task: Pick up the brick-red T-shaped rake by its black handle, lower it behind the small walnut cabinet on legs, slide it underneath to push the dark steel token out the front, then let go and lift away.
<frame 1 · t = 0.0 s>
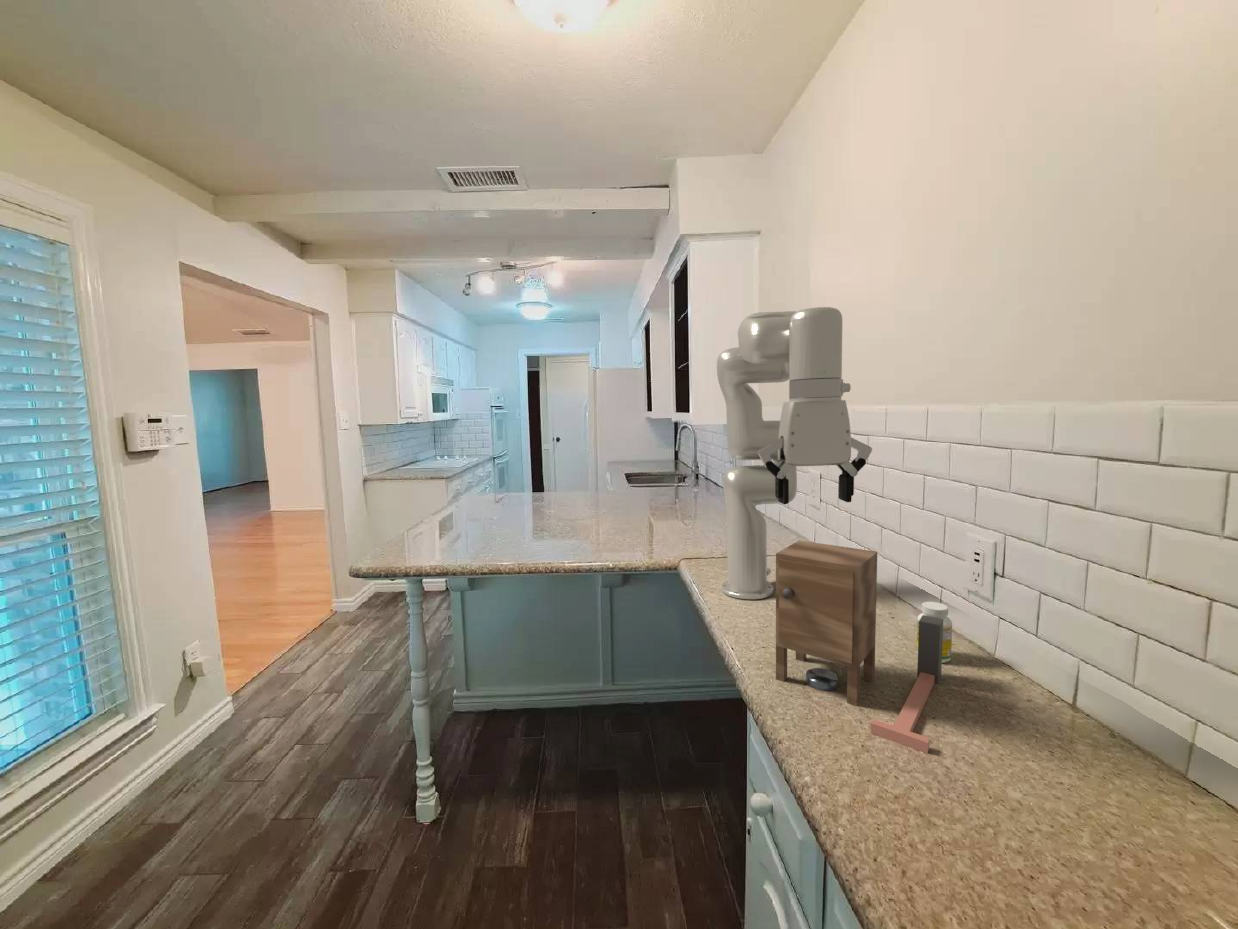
hand: (813, 501, 80), 31 cm above the table, tool pointing down, fingers open, 9 cm apart
walnut cabinet: (824, 678, 87), on the table
supplement bottle: (933, 657, 93), on the table
steel token: (821, 684, 86), on the table
rake: (929, 677, 86), on the table
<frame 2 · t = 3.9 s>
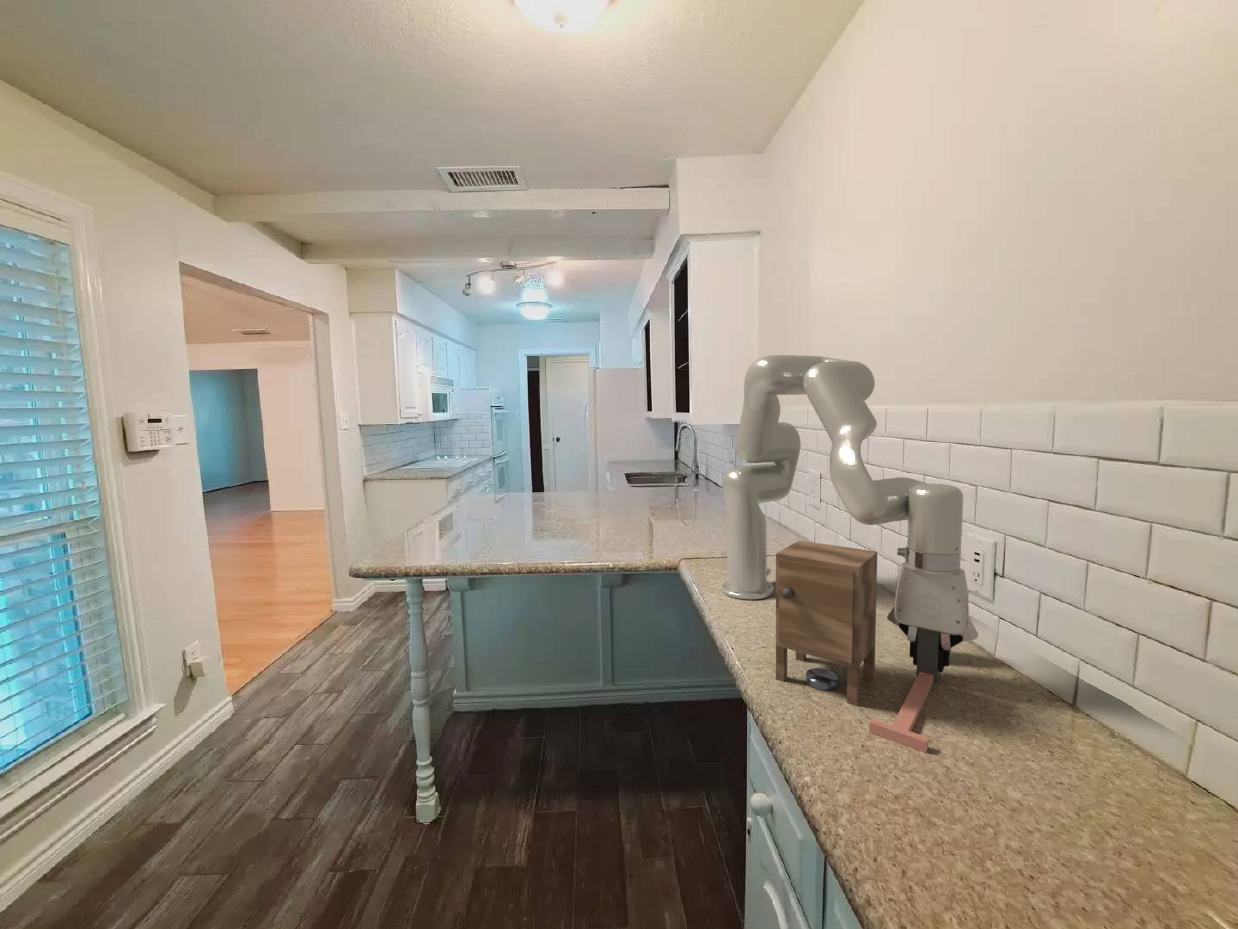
hand: (929, 664, 86), 2 cm above the table, tool pointing down, fingers closed on rake, 3 cm apart
rake: (928, 676, 87), on the table, touching gripper
everything else where it was.
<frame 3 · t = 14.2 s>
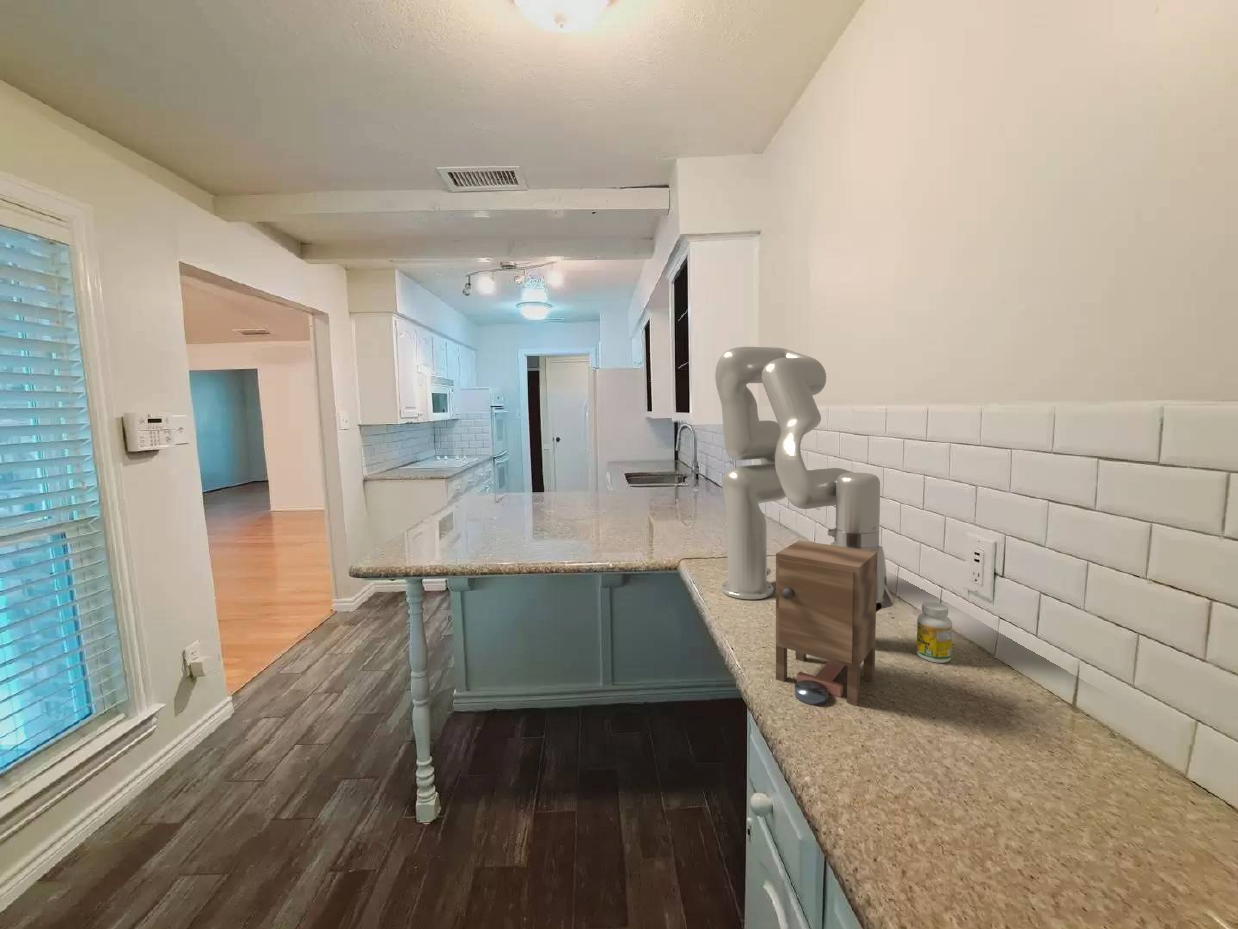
hand: (855, 630, 99), 3 cm above the table, tool pointing down, fingers closed on rake, 2 cm apart
steel token: (811, 697, 82), on the table
rake: (857, 641, 100), on the table, touching gripper
everything else where it was.
when the fingers open (3 cm above the table, at t = 15.9 s): rake stays where it is, on the table.
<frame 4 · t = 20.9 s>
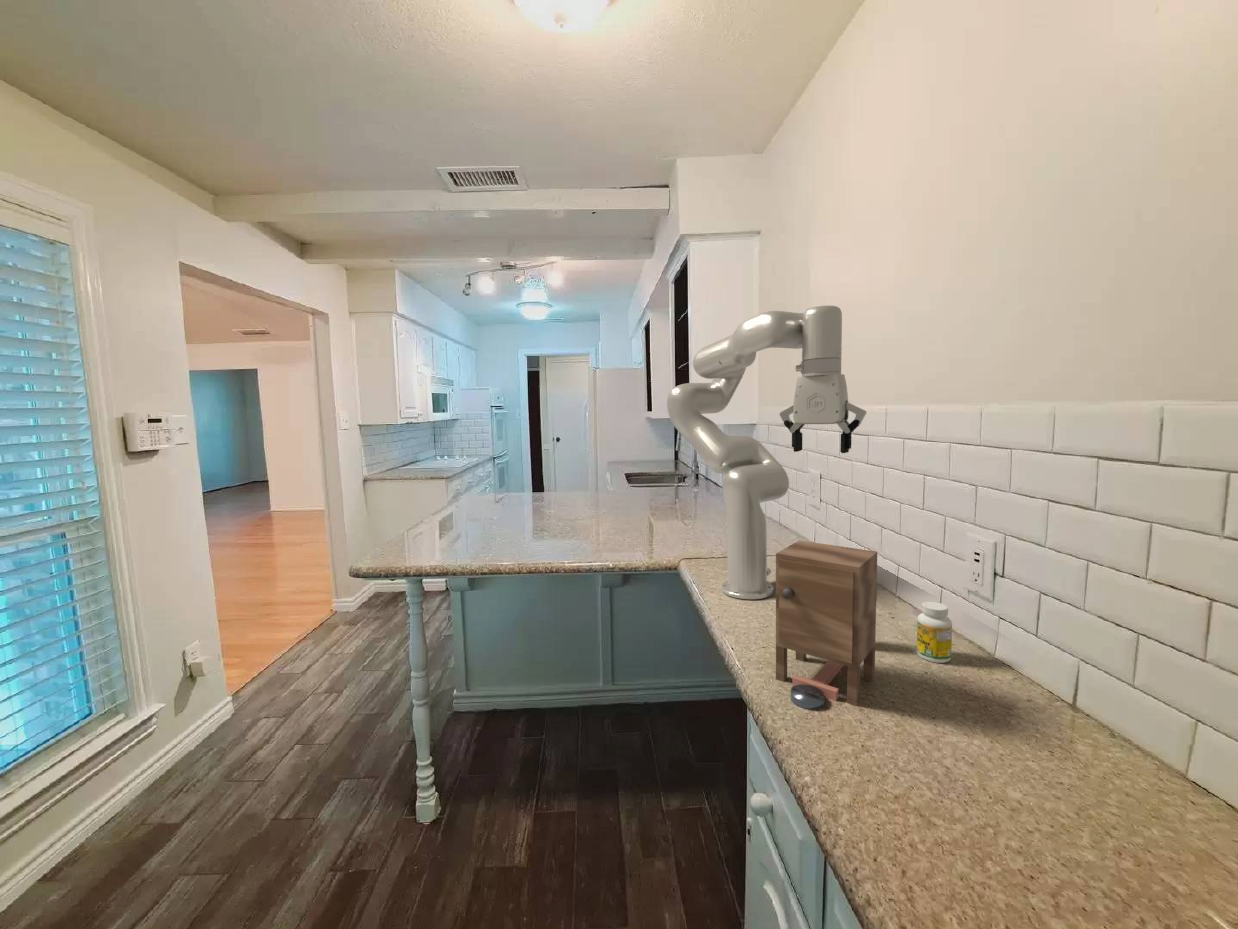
hand: (820, 451, 107), 36 cm above the table, tool pointing down, fingers open, 9 cm apart
steel token: (807, 702, 81), on the table
rake: (854, 644, 99), on the table
everything else where it was.
at the end: steel token inside the target area (3.1 cm from its centre), on the table; steel token tilted 1°; the gripper is holding nothing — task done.
